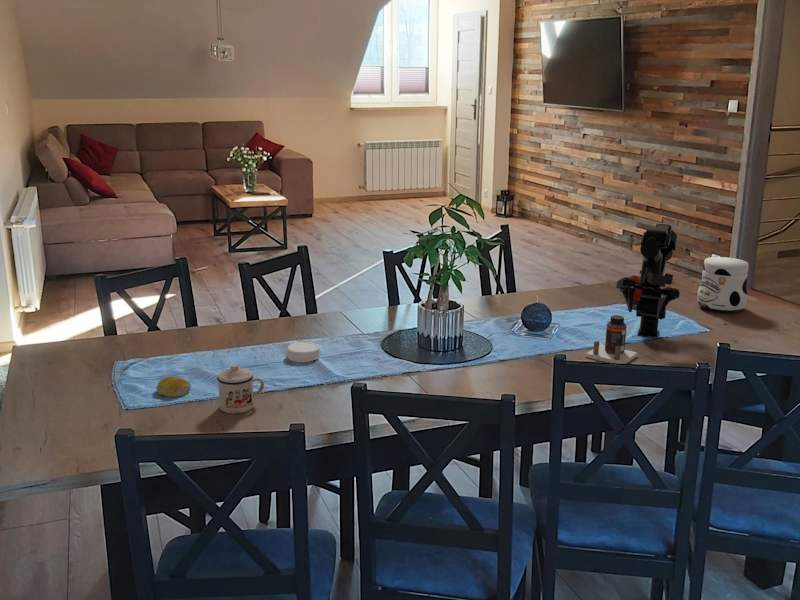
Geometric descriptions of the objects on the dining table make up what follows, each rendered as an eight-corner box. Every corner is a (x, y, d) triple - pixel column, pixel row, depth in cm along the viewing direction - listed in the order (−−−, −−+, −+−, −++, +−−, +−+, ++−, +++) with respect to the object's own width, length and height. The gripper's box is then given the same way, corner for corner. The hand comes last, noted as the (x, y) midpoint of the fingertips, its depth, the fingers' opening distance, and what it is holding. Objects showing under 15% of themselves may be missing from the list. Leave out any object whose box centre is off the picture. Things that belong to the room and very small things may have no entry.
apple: (618, 300, 309) (620, 272, 306) (639, 299, 310) (642, 272, 307) (626, 306, 301) (629, 278, 298) (648, 305, 302) (651, 278, 299)
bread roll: (173, 383, 226) (172, 370, 224) (195, 390, 221) (194, 377, 220) (149, 393, 219) (148, 379, 218) (172, 400, 214) (171, 386, 213)
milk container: (690, 310, 298) (695, 262, 293) (702, 299, 311) (708, 254, 306) (739, 318, 288) (745, 269, 283) (750, 307, 302) (756, 260, 297)
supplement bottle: (627, 354, 248) (631, 319, 245) (609, 355, 247) (612, 320, 244) (619, 347, 254) (622, 313, 250) (601, 348, 253) (604, 314, 249)
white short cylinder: (310, 365, 240) (310, 354, 239) (281, 360, 244) (280, 349, 243) (325, 354, 249) (325, 343, 248) (297, 350, 253) (296, 339, 252)
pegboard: (601, 347, 257) (602, 332, 256) (637, 356, 250) (638, 340, 249) (585, 356, 249) (587, 341, 247) (622, 366, 242) (624, 349, 240)
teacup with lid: (224, 417, 204) (221, 374, 201) (215, 403, 212) (212, 362, 209) (269, 408, 209) (268, 367, 206) (259, 396, 217) (257, 355, 214)
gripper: (633, 255, 246) (626, 304, 243) (691, 269, 247) (684, 318, 245) (619, 263, 257) (612, 310, 254) (674, 275, 258) (667, 322, 255)
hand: (644, 315), depth 252 cm, fingers open, 9 cm apart
